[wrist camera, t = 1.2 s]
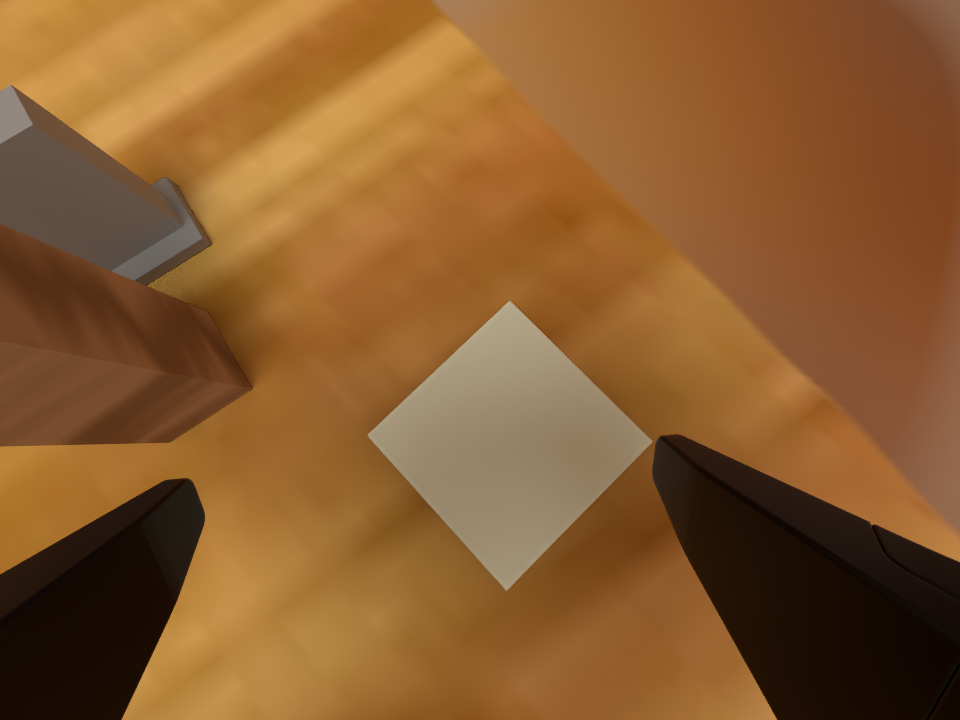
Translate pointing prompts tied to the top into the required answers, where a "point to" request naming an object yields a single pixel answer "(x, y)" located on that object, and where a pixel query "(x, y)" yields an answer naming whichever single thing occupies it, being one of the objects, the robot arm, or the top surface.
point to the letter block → (101, 354)
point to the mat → (509, 443)
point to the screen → (88, 197)
